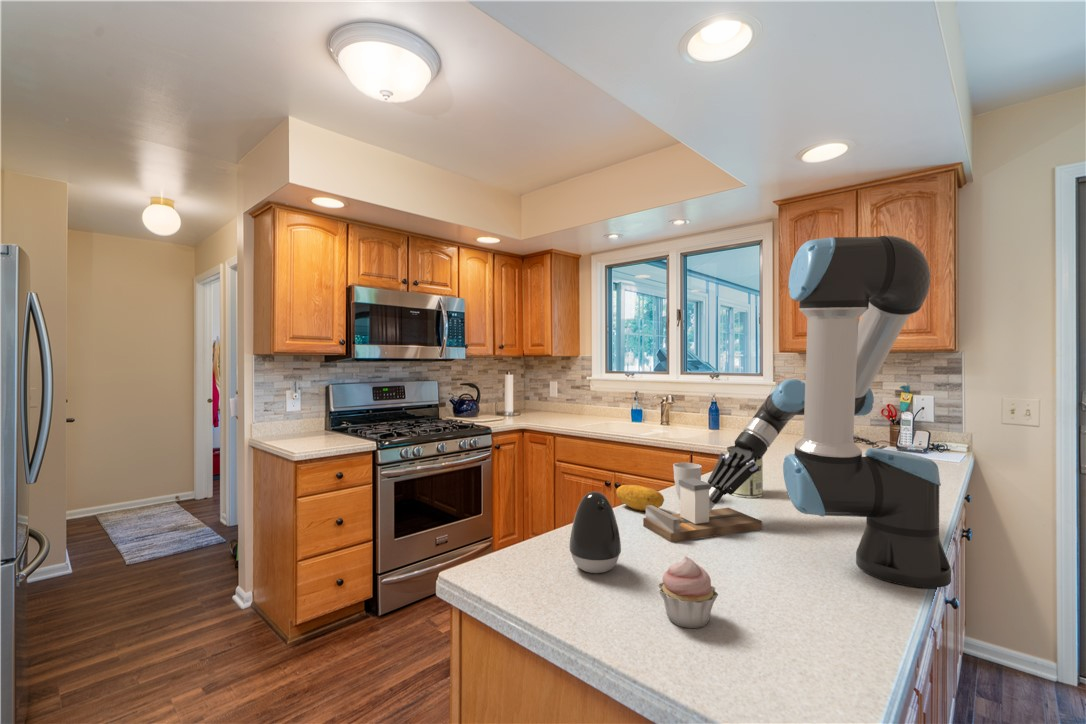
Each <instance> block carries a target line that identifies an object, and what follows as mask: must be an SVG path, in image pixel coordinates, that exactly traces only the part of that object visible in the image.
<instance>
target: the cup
mask: <svg viewBox="0 0 1086 724" xmlns="http://www.w3.org/2000/svg"><path fill="white" fill-rule="evenodd" d="M672 466H673V467H672V468H673V479H674V485H675V492H676V495H677V497H678V500H680V485H679V480H681V479H691V478H695V479H698V480H701V481H702V469H703V467H702V465H701V464H698V463H694V462H676V463H673V464H672Z"/></svg>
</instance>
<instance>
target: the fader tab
mask: <svg viewBox="0 0 1086 724" xmlns="http://www.w3.org/2000/svg"><path fill="white" fill-rule="evenodd" d="M679 485H680V499H679V500H680V501H679V505H680V506H679V509H680V510H679V511H680V512H679V514H680V517H682V518H684V519H686V520H688V521H690V522H692V523H694V524H698V523H706V522H709V489H711V484H709V483H708V482H705V481H702V479H701V480H698V479H695V478H691V479H681V480H679Z"/></svg>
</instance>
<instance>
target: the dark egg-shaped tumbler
mask: <svg viewBox="0 0 1086 724" xmlns="http://www.w3.org/2000/svg"><path fill="white" fill-rule="evenodd" d="M569 552H570V554H571V557H572V560H573V562H574V564H575V565H576V566H577V567H578V568H579V569H580V570H582V571H584V572H587V573H590V574H602V573H606V572H608V571H610V570H612V569H613V567H615V566H616V564H617V562H618V561H619V557H620V555H621V552H622V543H621V536H620V531H619V526H618V522H617V518H616V515H615V511H614V509H613V507H612V504H611V503H610V500H609V499H608V497H607V496H606V495H605V494H604V493H602V492H599V491H590V492H588V493H586V494H585V495H584V496H583V497H582V498H581V500H580V501H579V504H578V506H577V509H576V512H575V514H574V519H573V522H572V527H571V531H570V537H569Z"/></svg>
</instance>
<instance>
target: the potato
mask: <svg viewBox="0 0 1086 724" xmlns="http://www.w3.org/2000/svg"><path fill="white" fill-rule="evenodd" d="M615 492H616V496H617V497H618V499H619V501H620V502H621V503H623V504H624V505H626V506H628V507H630V508H631V509H633V510H634V511H635V510H636V511H640V512H641V511H642V512H646V506H647V505H652V506H654V507H656V508H658V509H660V508H661V507H662V506H663V504H664V502H665V498H664V495H663V494H662V493H661V492H660V491H658V490H656V489H654V488H651V487H648V486H647V487H646V486H642V485H640V484H639V485H636V484H635V485H634V484H623V485H620V486H618V487H617V489H616V491H615Z"/></svg>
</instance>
